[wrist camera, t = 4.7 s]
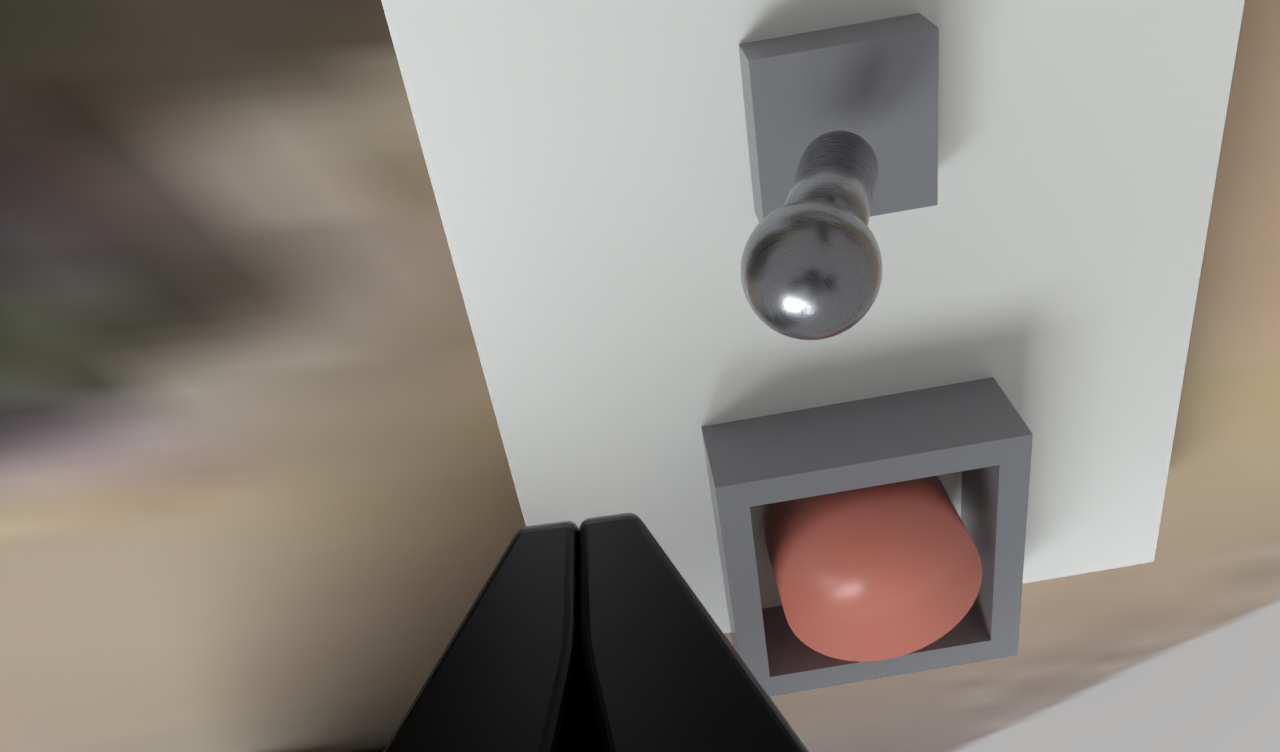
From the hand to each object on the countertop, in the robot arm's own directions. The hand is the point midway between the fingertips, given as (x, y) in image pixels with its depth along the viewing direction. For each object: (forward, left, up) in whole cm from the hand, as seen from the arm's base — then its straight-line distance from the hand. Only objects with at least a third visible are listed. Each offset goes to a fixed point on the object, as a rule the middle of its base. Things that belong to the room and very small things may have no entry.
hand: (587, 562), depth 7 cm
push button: (+4, -10, -11) cm, 16 cm away
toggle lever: (+4, -1, -11) cm, 11 cm away
